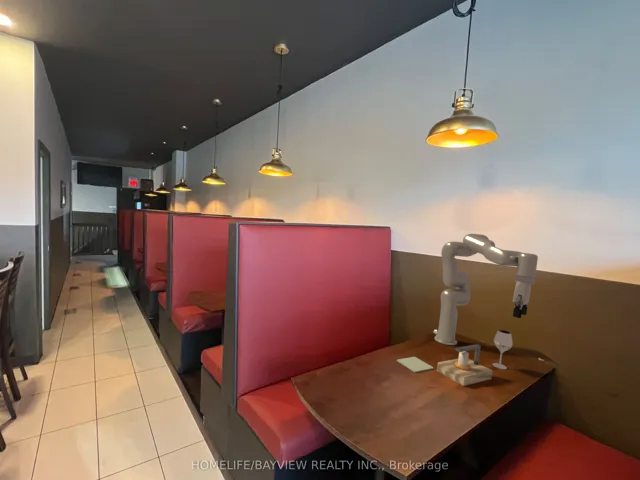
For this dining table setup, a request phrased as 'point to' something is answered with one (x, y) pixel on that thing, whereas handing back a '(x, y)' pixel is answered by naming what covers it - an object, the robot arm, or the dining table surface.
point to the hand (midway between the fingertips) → (519, 315)
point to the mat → (415, 364)
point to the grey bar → (471, 347)
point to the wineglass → (502, 345)
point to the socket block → (464, 372)
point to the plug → (463, 361)
